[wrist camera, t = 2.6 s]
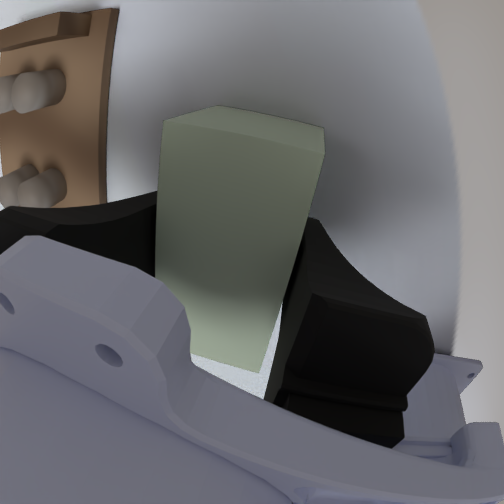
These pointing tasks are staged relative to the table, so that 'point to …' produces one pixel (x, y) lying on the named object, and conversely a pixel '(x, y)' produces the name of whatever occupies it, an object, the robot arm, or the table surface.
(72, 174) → the peg frame
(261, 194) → the pale green block
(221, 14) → the table surface
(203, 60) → the table surface
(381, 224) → the table surface
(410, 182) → the table surface
